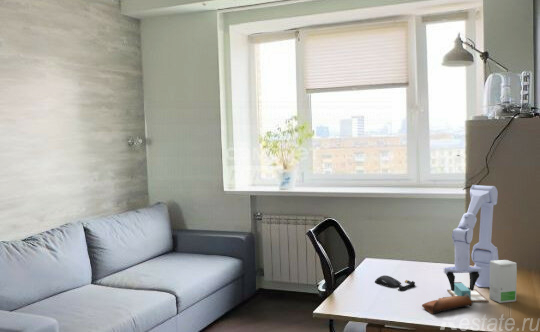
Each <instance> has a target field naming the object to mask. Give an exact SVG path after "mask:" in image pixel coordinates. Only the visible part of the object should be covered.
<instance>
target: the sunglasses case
mask: <svg viewBox="0 0 540 332" xmlns="http://www.w3.org/2000/svg"><path fill="white" fill-rule="evenodd" d="M472 305H473V302H472V301H471V299H470V298H469V297H466V296H451V295H450V296H445V297H444V296H443V297H439V298H438V299H434V300H431V301H427V302H425V303H423V304H421V307H422V308H423V309H424V310H425V311H427V312H428V313H430V314H432V315H433V314H436V313H441V312H444V311H447V310H452V309H458V308H462V307H472Z"/></svg>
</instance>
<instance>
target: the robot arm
mask: <svg viewBox="0 0 540 332" xmlns="http://www.w3.org/2000/svg"><path fill="white" fill-rule="evenodd" d="M498 194H499V193H498V189H497V187H496V186H495V185H479V184H472V185H471V186H470V189H469V198H470V202H469V205H468V209H467V212H464V213H463V215H462V217H461V219H460V221H459V223H458V224H457V225H458V226H457V227H455V228H454V229H453V231H452V235H451V240H452V242H453V243H452V244H453V246H454V266H448V267H443V273H444V274H445V275H446V277H447V279H448V282H449V286H450V290H452V291H454V282H455V281H456V280H455V279H456V276H455V274H464V273H469V274H468V276H469V288H470V290H471V291H473V289H475V286H477V287H478V288H490V261H495V260H499V252H498V247H497V246H495V245H494V243H492V238H493V237H492V234H493V233H492V232H493V219H494V217H493V216H494V206H496V205H497V204H498V197H499V195H498ZM479 210H480V221H479V237H478V242H477V243H475V244H474V245H473V247H472V251H471V249H470V248H471V242H472V241H473V237H474V236H473V235H474V228H475V226H476V224H477V220H478V217H477V215H478V213H479ZM470 254H471V255H470ZM470 256H471V257H470ZM470 259H471V260H472V262H473V263H474V265H473V266H471V265H470V263H471V260H470Z"/></svg>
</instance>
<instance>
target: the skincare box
mask: <svg viewBox="0 0 540 332" xmlns="http://www.w3.org/2000/svg"><path fill="white" fill-rule="evenodd" d="M517 273H518V272H517V262H514V261H511V260H508V259H498V260H495V261H490V287H489V292H488V293H489V299H490V300H492V301H495V302H497V303H498V304H502V303H511V302H516V301H517V276H518V275H517Z"/></svg>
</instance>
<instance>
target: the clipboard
mask: <svg viewBox="0 0 540 332" xmlns="http://www.w3.org/2000/svg"><path fill="white" fill-rule="evenodd" d="M466 287H467V288H468V289H469V290H470V286H466ZM470 291H471V290H470ZM447 292H448V294H449V295H450V296H457V295H456V294H455V293H454V292H453V291H452V290H451V289H447ZM471 301H472V303H489V302H490V301H489V300H488V298H486V297H485V296H484V295H483V294H482V293H481V292H479V290H478V289H475V288H474V289H473V291H471Z"/></svg>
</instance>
